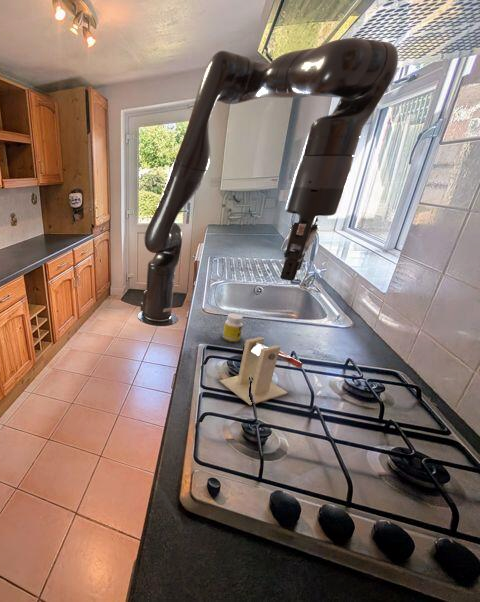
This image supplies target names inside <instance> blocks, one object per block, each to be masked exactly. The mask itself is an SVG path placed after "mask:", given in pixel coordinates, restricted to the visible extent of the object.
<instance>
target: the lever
mask: <svg viewBox="0 0 480 602" xmlns="http://www.w3.org/2000/svg"><path fill="white" fill-rule="evenodd" d="M267 347H268V346H267V345H265V344H263V345H262V344H259V343H255V345H254V347H253V348H252V350H251V352H252V353H254V354H255V355H257V356H260V352H261V349H263V348H267ZM277 360H282V361H284V362H287V363H288V364H290V365H292V366H294V367H296V368H297V369H300V368H302V366H303V362H301V361H300V360H298V359H296V358H294V357H292V356H291V355H289V354H286V353H284V352H283V351H281V350H279V354H278V358H277Z"/></svg>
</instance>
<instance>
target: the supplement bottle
mask: <svg viewBox="0 0 480 602" xmlns="http://www.w3.org/2000/svg"><path fill="white" fill-rule="evenodd" d="M242 322H243V316H242V315H241V314H238V313H229V314H228V315H227V320H225V322H224V328H223V334H222V339H223V340H224V341H227V342H231V343H237V342H240V341H241V335H242V332H243V331H242V330H243V326H244V325H243V323H242Z"/></svg>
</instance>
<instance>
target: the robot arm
mask: <svg viewBox="0 0 480 602" xmlns="http://www.w3.org/2000/svg"><path fill="white" fill-rule="evenodd" d="M398 62H399V54H398V49H397V48H396V46H395V45H394V44H393V43H391V42H388V41H381V40H373V39H365V38H361V37H360V38H358V37H348V38H341V39H335V40H331V41H328V42H326V43H324V44H321V45H319V46H317V47H313V48H312V47H311V48H306V49H300V50H299V49H298V50H294V51H289V52H287V53H284V54H281V55H279V56H277V57H276V58H274V59H273V60H272V61H271V62H269V63H264V62H260V61H255V60H252V59H251V58H249V57H248V56H245V55H244V56H243V55H240V54H237V53H234V52H230V51H227V50H219V51H217V52H216V53H214V55H212V57H211V58H210V60H209V62H208V63H207V65H206V68H205V70H204V72H203V74H202V77H201V80H200V84H199V87H198V90H197V94H196V97H195V99H194V103H193V107H192V111H191V114H190V117H189V121H188V124H187V127H186V130H185V132H184V135H183V138H182V141H181V144H180V146H179V149H178V151H177V153H176V157H175V159H174V161H173V164H172V166H171V169H170V173H169V176H168V179H167V181H166V184H165V187H164V189H163V192H162V195H161V197H160V199H159V202H158V205H157V207H156V209H155V212H154V214H153V215H152V217H151V220H150V221H149V223H148V225H147V228H146V230H145V233H144V246H145V249H146V250H147V251H148V252H149V253H152V254H155V255H154V256H153V258H152V259H151V260H149V262H148V263H147V268H146V269H147V270H146V286H145V287H146V288H145V290H144V291H143V296H142V302H141V303H140V312H141V311H142V316H144V317H145V318H146V319H147V320H149V321H153V322H167V321H169V320H170V319H171V312H173V311H172V310H173V300H174V291H175V290H174V289H175V280H176V271H177V266H178V264H179V262H180V258H181V252H182V245H183V231H182V228H181V226H179V224H177V223H176V220H177V217H179V214H180V213H181V211H182V210H183V208H185V206H186V205H187V204H188V203H189V201H190V200H191V199H192V198H193V197H194V196H195V194H197V191H198V190H199V189H200V187H201V185H202V183H203V181H204V179H205V176H206V174H207V172H208V170H209V167H210V164H211V159H212V158H211V143H210V141H211V140H210V121H211V117H212V114H213V112H214V108H215V105H216V103H221V104H225V105H236V104H241V103H246V102H249V101H252V100H257V99H262V98H280V99H281V98H282V99H299V98H301V99H302V98H307V97H311V96H312V97H325V98H326V97H327V98H338V99H339V100H338V102H337V105H336V106H335V108H334V110H333V111H332V112H331V114H327V115H324V116H322V117H319V118H317V119H315V120H314V121H313V122H312V123H311V125H310V127H309V129H308V132H307V135H306V140H305V143H304V147H303V151H302V153H301V157H300V160H299V162H298V164H297V168H296V169H295V172H294V175H293V179H292V182H291V187H290V190H289V194H288V198H287V201H286V205H285V207H284V208H285V209H284V211H285V212H286V213H289V214H295V215H298V219H297V222H293V223H291V225H290V227H289V235H288V237H287V241H286V248H285V249H286V250H285V251H284V253H283V258H284V263H283V266H282V270H281V273H280V279H282V280H284V281H289V282H292V281H294V280H296V276H297V273H298V271H300V270H301V268H302V265H303V262H304V260H305V259H304V258H305V256H306V253H307V252H308V251H309V250H310V248H311V246H312V245H313V243H314V239H315V237H316V235H317V233H318V231H319V228H320V224H317V223H318V221H319V216H320V217H330V216H334V215H336V214H337V212H338V209H339V206H340V204H341V200H342V197H343V194H344V191H345V189H346V186H347V183H348V179H349V177H350V173H351V169H352V164H353V159H354V156H355V153H356V151H357V147H358V144H359V141H360V139H361V135H362V132H363V128H364V127H365V125H366V124H367V122H368V121H369V119H370V118H371V116H372V115H373V113H374V112H375V110H376V108H377V107H378V105H379V104H380V102H381V100H382V98H383V97H384V95H385V93H386V92H387V90H388V89H389V87H390V85H391V83H392V81H393V79H394V77H395V75H396V72H397V68H398Z"/></svg>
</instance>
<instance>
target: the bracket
mask: <svg viewBox="0 0 480 602" xmlns="http://www.w3.org/2000/svg"><path fill="white" fill-rule="evenodd" d="M264 342H265V338H264V337H262V336H258V337H254V338H249V339H245V342H244V348H243V353H242V357H241V361H240V367H239V372H238V375H235V376H231V377H227V378H223V379H220V380H219V382H220V383H221V384H222V385H224V386H225V387H226V388H227V389H229V390H230V391H231V392H232V393H234V394H235V395H236V396H237V397H239V398H240V399H241V400H243V401H244V402H245V403H247V405H249V406H253V405H252V402H251V400H250V397H249V387H250V380H249V377H250V375H251V377H252V378H253V380H252V383H251V390H252V391H251V393H252V395H253V397H254V400H255V404H254V405H256V404H259V403H262V402H266V401H268V400H269V401H270V400H271V399H275V398H278V397H282V396H284V395H287V394H288V391H286V390H285V389H283V388H281V386H279V385H277V384H276V383H274V382H273V377H274V373H275V368H276V366H277V361H278V354H279V351H281V350H280V349H281V346H279V345H277V344H276V345H271V346H266V347H267V348H263V349H261V352H260V356H257V355H255V354H254V353H252V352H251V350H252V348H253V347H254V345H255V343H259V344H262V345H264Z"/></svg>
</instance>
